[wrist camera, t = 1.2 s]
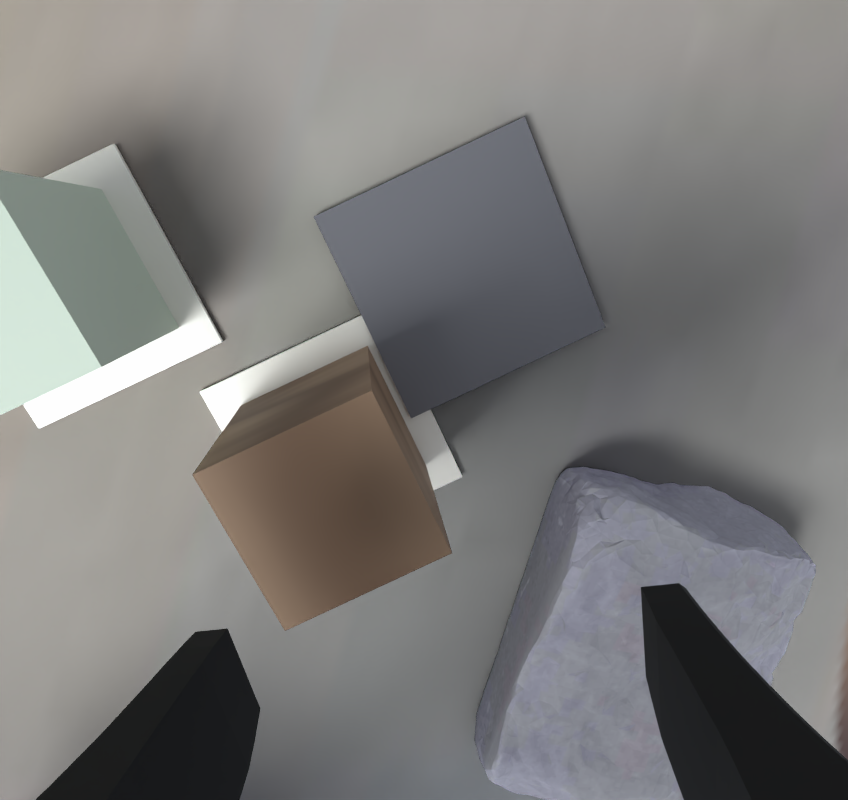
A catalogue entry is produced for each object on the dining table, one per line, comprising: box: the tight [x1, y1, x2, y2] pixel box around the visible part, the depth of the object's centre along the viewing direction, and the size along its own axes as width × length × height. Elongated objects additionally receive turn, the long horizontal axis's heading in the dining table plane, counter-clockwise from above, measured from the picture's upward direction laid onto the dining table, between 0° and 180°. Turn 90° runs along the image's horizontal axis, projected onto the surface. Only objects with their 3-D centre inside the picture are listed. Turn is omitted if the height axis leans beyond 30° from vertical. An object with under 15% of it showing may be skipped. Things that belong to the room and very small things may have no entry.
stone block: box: [474, 467, 816, 800], centre depth 24 cm, size 12×5×10 cm
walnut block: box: [193, 346, 452, 631], centre depth 19 cm, size 4×4×6 cm
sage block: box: [0, 170, 179, 415], centre depth 17 cm, size 4×4×6 cm
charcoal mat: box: [314, 117, 605, 418], centre depth 21 cm, size 7×7×1 cm
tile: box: [23, 144, 223, 429], centre depth 20 cm, size 6×6×1 cm
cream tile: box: [200, 315, 463, 491], centre depth 22 cm, size 6×6×1 cm
